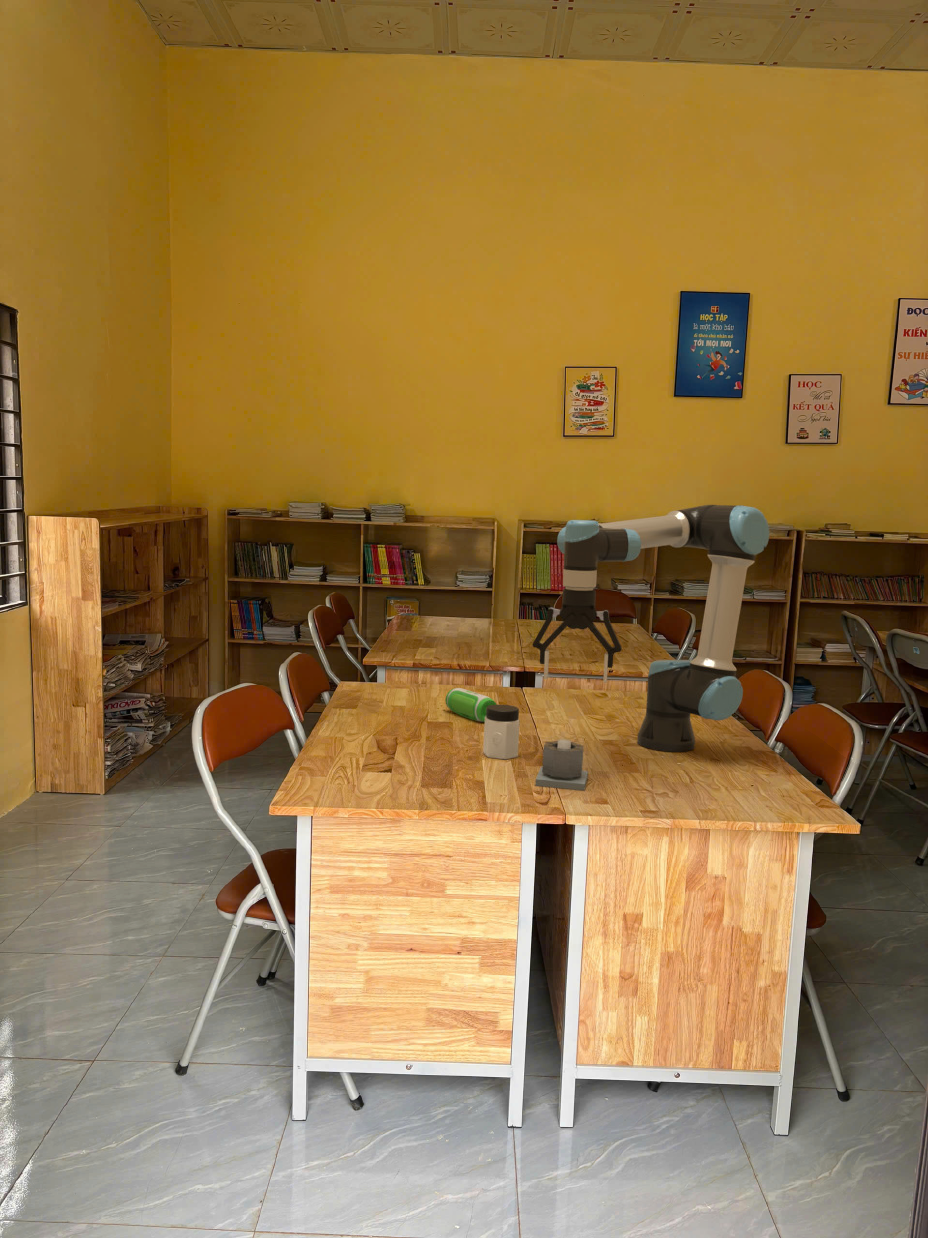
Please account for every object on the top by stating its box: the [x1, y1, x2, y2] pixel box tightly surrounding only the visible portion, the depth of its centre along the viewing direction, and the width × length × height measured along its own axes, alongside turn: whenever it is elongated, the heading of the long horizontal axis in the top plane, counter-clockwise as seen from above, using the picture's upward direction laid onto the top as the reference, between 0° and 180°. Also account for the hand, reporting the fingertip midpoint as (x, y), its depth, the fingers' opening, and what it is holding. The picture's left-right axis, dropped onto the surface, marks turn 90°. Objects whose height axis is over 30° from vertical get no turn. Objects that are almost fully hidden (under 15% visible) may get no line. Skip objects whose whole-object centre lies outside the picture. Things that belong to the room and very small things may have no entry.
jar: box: [482, 704, 521, 760], centre depth 245 cm, size 9×8×12 cm
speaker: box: [445, 687, 498, 723], centre depth 286 cm, size 18×7×8 cm, turn 35°
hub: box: [541, 740, 585, 778], centre depth 224 cm, size 9×9×6 cm
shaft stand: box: [534, 738, 589, 791], centre depth 224 cm, size 11×11×10 cm
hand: (575, 680), depth 226 cm, fingers open, 13 cm apart
